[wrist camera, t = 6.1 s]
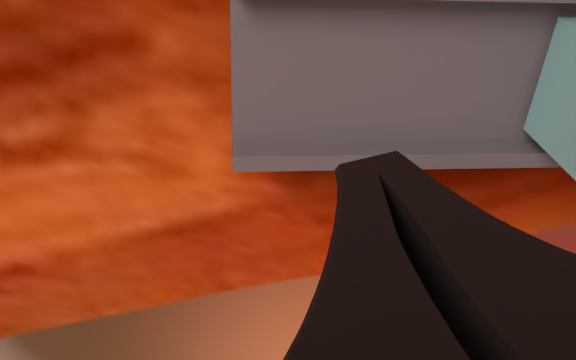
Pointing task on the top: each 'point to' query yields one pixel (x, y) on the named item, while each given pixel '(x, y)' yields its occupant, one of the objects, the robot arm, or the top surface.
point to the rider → (557, 98)
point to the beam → (387, 81)
